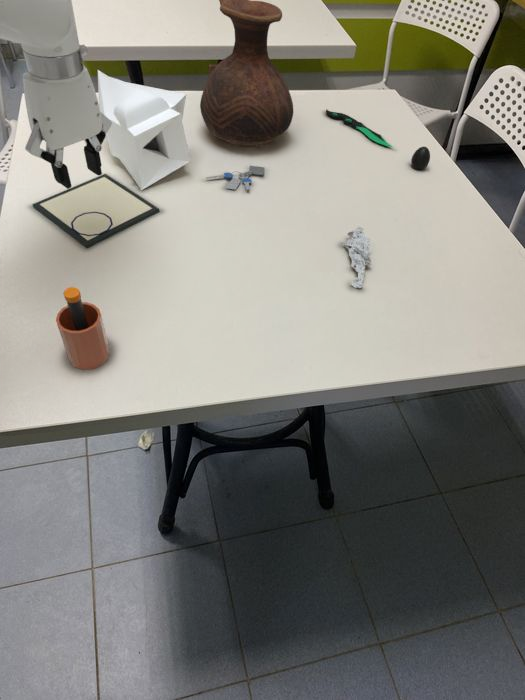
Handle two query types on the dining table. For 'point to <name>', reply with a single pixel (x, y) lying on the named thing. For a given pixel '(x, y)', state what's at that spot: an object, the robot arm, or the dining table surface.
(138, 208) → the drawing mat
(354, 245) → the paper
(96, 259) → the dining table surface
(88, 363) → the pen cup
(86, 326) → the marker
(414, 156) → the egg
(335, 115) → the knife
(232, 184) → the key chain
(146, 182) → the folded paper
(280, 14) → the jug
